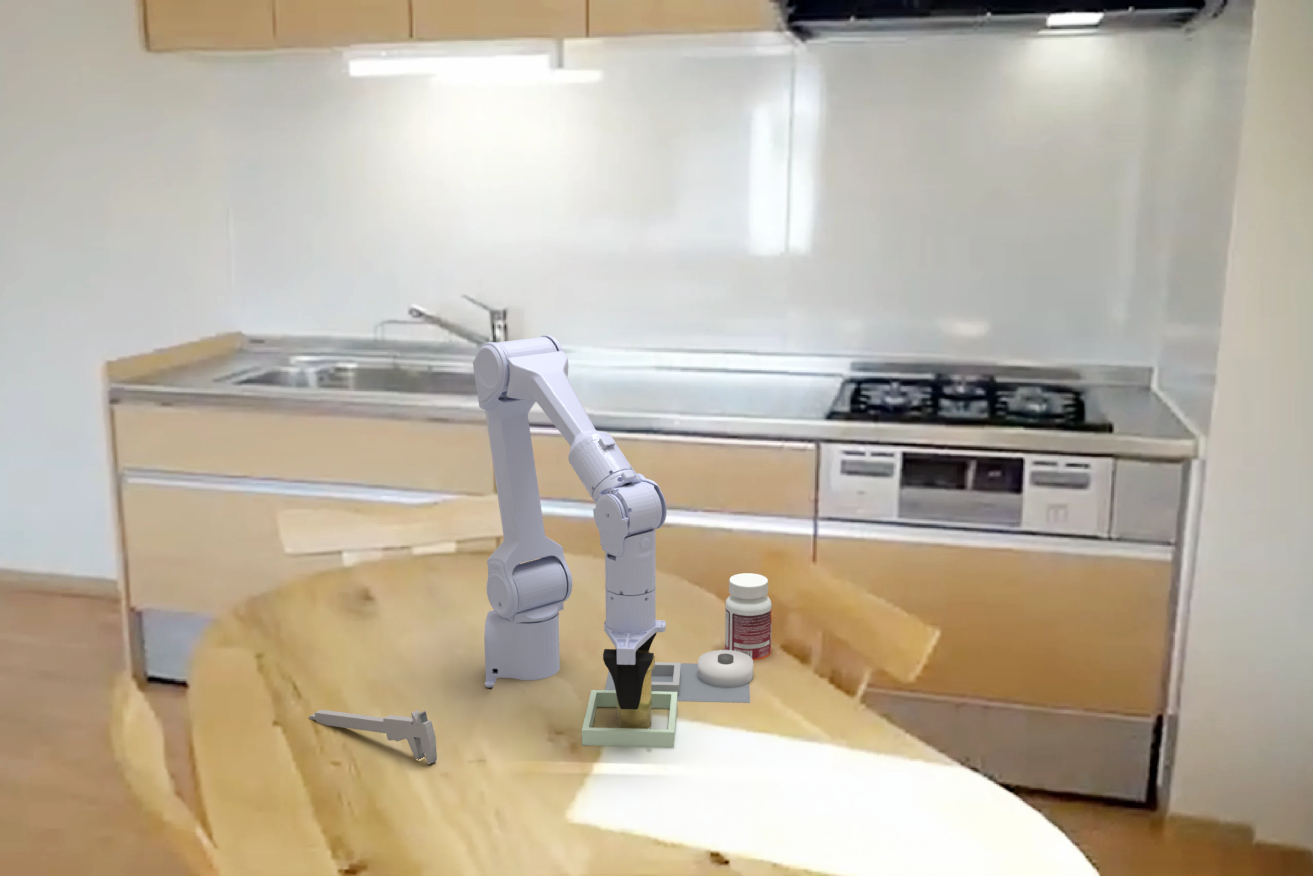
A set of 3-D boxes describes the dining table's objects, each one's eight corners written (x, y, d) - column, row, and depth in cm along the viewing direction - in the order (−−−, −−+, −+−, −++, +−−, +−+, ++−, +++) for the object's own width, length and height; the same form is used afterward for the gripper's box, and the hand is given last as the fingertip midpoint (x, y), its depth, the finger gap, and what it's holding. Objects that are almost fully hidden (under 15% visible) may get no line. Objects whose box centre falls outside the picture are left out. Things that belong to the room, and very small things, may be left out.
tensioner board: (602, 708, 151) (602, 679, 150) (610, 670, 161) (610, 643, 160) (754, 711, 150) (754, 682, 149) (752, 673, 160) (752, 646, 159)
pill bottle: (780, 661, 164) (782, 581, 161) (743, 672, 161) (744, 591, 158) (751, 646, 169) (753, 568, 166) (715, 656, 166) (716, 577, 163)
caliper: (437, 765, 138) (435, 713, 136) (430, 769, 137) (428, 717, 135) (315, 717, 149) (311, 669, 147) (308, 720, 148) (304, 672, 147)
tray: (582, 754, 139) (581, 730, 139) (591, 712, 149) (591, 689, 149) (673, 756, 139) (673, 732, 138) (677, 714, 149) (677, 691, 148)
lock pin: (612, 738, 142) (611, 666, 140) (615, 719, 147) (614, 649, 144) (654, 739, 142) (653, 667, 140) (655, 719, 146) (655, 649, 144)
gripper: (662, 611, 132) (662, 726, 136) (668, 565, 147) (668, 671, 150) (597, 610, 133) (598, 725, 136) (609, 564, 147) (610, 669, 150)
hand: (631, 697), depth 143 cm, fingers open, 5 cm apart
